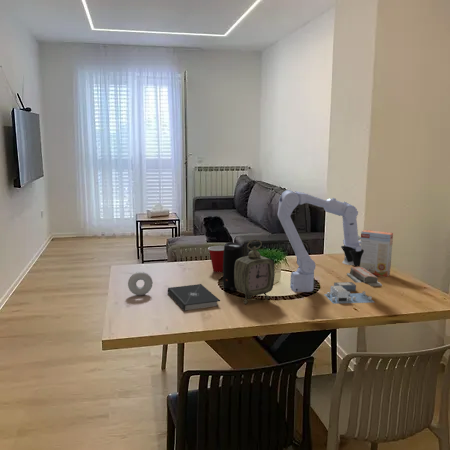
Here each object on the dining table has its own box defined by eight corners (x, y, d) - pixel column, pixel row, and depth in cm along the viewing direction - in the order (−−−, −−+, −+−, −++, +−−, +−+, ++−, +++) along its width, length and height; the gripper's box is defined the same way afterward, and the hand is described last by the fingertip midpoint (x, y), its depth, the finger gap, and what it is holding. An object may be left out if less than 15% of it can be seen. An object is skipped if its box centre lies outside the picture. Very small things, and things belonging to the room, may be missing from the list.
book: (167, 294, 197) (167, 287, 197) (200, 290, 203) (200, 283, 203) (183, 312, 178) (183, 305, 177) (220, 307, 184) (220, 300, 183)
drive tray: (333, 306, 185) (333, 299, 185) (323, 296, 196) (324, 290, 196) (374, 305, 188) (375, 298, 187) (363, 295, 198) (363, 289, 198)
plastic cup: (216, 266, 239) (216, 243, 236) (234, 270, 232) (234, 246, 230) (203, 271, 230) (203, 247, 228) (221, 275, 224) (221, 250, 221)
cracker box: (390, 274, 230) (393, 232, 226) (387, 277, 225) (390, 234, 221) (361, 270, 237) (364, 229, 233) (357, 272, 232) (360, 230, 228)
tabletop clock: (243, 306, 184) (245, 243, 179) (231, 299, 191) (232, 238, 187) (273, 300, 191) (275, 239, 187) (260, 293, 199) (262, 235, 194)
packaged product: (346, 266, 227) (366, 265, 228) (345, 276, 228) (365, 275, 229) (361, 277, 210) (383, 276, 211) (361, 287, 210) (382, 287, 212)
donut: (152, 293, 197) (151, 269, 196) (153, 295, 194) (153, 272, 192) (127, 294, 195) (127, 271, 193) (128, 297, 192) (127, 273, 190)
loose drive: (355, 294, 201) (356, 285, 200) (337, 294, 200) (337, 285, 199) (351, 290, 205) (352, 281, 204) (333, 291, 204) (334, 282, 203)
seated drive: (337, 302, 187) (337, 292, 186) (330, 295, 195) (330, 285, 194) (348, 301, 187) (348, 291, 187) (340, 294, 195) (341, 285, 194)
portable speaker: (229, 292, 199) (229, 247, 196) (218, 286, 207) (219, 242, 204) (246, 290, 203) (247, 245, 199) (236, 283, 211) (236, 241, 208)
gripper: (367, 234, 191) (369, 266, 194) (353, 228, 205) (355, 258, 208) (350, 237, 191) (353, 269, 193) (337, 230, 205) (340, 260, 207)
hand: (353, 263), depth 200 cm, fingers open, 7 cm apart
